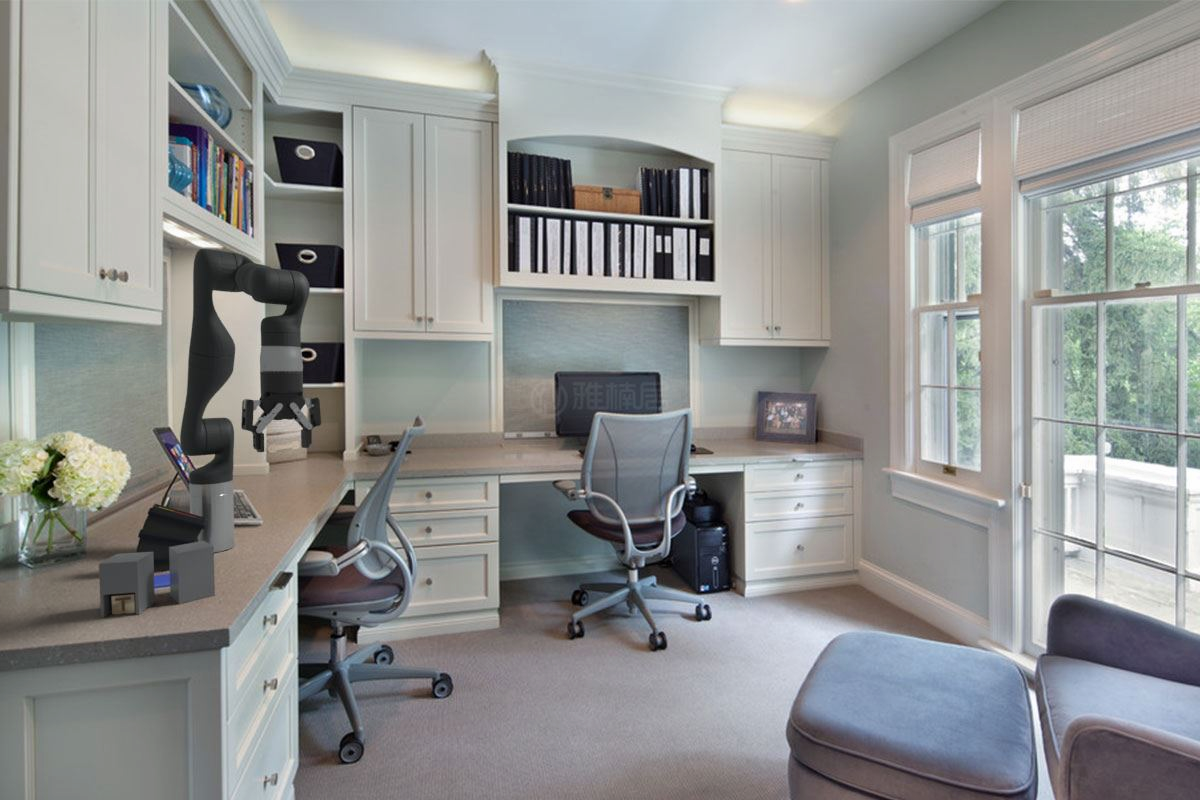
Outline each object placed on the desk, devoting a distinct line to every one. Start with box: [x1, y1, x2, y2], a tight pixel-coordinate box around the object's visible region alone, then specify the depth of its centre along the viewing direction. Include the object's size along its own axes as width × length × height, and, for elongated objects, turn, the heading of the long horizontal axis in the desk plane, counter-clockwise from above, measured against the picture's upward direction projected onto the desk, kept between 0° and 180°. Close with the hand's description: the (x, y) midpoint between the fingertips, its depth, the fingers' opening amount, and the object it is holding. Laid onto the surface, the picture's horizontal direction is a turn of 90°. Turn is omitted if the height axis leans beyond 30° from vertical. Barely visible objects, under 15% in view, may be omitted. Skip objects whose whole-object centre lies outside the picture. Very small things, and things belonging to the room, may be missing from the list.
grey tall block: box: [169, 541, 216, 605], centre depth 117 cm, size 6×6×10 cm
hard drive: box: [154, 573, 170, 592], centre depth 124 cm, size 2×8×12 cm
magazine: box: [136, 503, 207, 573], centre depth 134 cm, size 4×13×15 cm, turn 124°
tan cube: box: [111, 593, 136, 615], centre depth 111 cm, size 4×4×4 cm
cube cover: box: [98, 552, 156, 618], centre depth 111 cm, size 6×6×10 cm
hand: (283, 449), depth 118 cm, fingers open, 8 cm apart
